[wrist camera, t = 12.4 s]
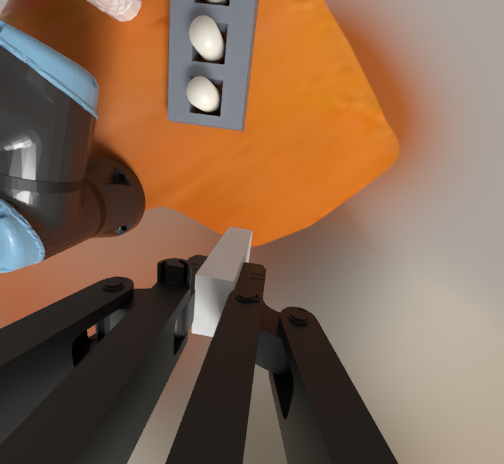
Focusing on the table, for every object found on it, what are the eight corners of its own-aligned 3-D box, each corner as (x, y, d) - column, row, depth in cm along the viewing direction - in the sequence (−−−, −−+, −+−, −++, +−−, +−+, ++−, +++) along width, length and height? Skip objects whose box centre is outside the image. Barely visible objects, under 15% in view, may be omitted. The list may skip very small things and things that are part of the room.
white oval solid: (199, 62, 38) (188, 49, 33) (201, 32, 37) (189, 13, 32) (224, 65, 38) (216, 52, 33) (227, 34, 37) (219, 16, 32)
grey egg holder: (175, 122, 42) (158, 116, 36) (180, -44, 35) (160, -84, 29) (243, 131, 41) (237, 127, 35) (262, -36, 34) (258, -76, 28)
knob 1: (197, 111, 40) (186, 105, 35) (198, 84, 39) (187, 74, 34) (220, 114, 40) (212, 109, 35) (223, 87, 39) (215, 77, 34)
